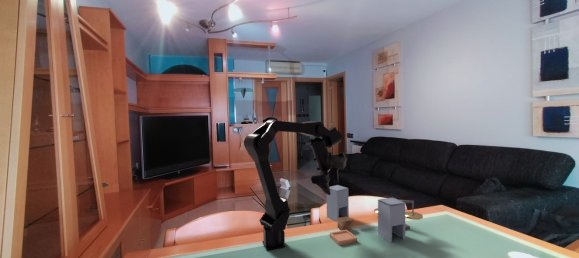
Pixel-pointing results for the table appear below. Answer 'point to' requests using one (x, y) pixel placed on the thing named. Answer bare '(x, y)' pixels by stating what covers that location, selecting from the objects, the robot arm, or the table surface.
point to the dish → (343, 237)
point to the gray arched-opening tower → (391, 218)
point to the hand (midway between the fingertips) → (333, 188)
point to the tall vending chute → (337, 202)
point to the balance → (408, 213)
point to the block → (344, 223)
